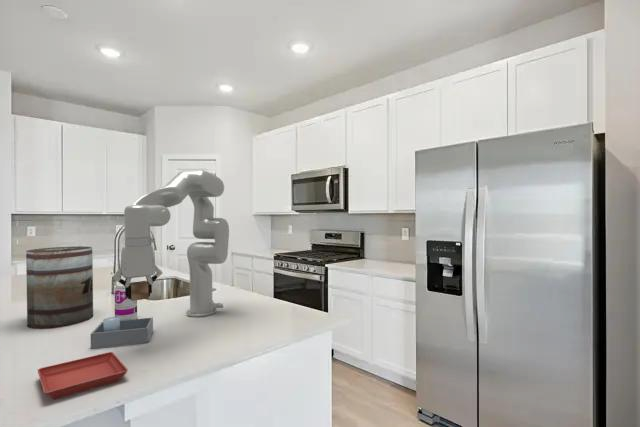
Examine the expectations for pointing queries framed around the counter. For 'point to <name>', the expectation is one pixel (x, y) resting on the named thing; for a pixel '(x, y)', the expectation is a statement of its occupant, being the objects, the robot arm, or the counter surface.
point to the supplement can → (124, 304)
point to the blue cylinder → (111, 324)
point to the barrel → (59, 286)
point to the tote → (123, 333)
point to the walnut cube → (139, 291)
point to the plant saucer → (81, 375)
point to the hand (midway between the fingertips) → (138, 296)
